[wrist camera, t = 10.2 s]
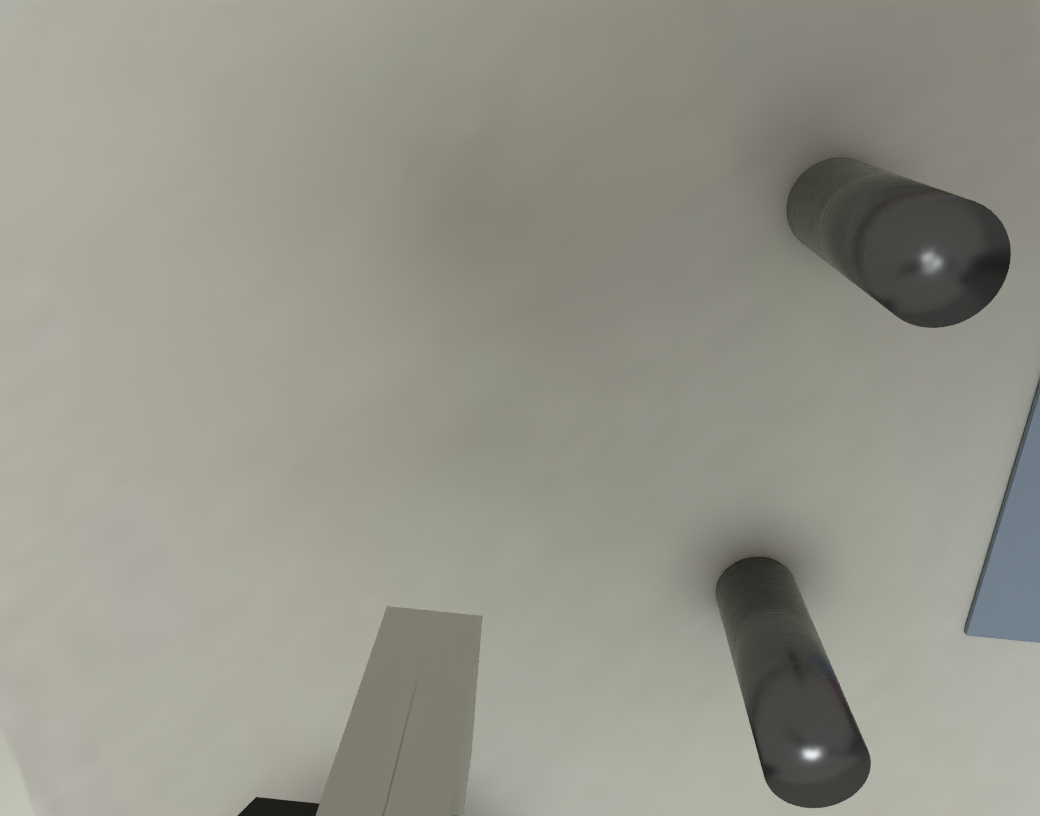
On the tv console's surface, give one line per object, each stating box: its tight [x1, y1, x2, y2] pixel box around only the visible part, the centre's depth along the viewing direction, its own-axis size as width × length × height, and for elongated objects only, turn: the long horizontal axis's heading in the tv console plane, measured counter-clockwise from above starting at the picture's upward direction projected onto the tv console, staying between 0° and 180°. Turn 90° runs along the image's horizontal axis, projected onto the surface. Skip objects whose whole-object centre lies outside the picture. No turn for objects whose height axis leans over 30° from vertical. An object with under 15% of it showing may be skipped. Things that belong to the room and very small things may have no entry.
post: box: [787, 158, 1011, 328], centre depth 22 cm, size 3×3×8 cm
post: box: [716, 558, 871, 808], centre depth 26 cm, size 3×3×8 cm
